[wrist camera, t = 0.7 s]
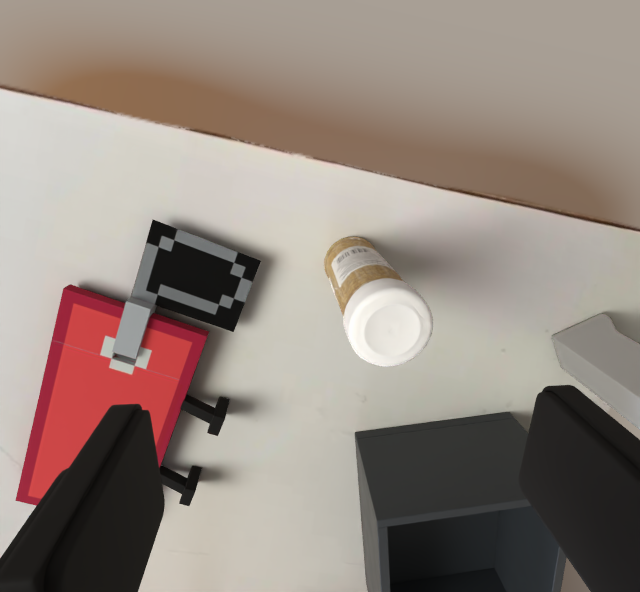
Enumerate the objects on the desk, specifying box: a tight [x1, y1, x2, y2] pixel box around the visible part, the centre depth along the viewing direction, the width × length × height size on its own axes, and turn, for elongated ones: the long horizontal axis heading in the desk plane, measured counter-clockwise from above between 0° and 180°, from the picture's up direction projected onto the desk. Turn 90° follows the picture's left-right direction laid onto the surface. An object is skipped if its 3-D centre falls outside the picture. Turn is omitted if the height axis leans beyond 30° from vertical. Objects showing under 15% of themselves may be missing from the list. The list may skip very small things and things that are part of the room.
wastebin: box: [355, 412, 566, 592], centre depth 39 cm, size 22×16×10 cm
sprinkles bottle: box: [324, 237, 433, 366], centre depth 27 cm, size 5×5×13 cm
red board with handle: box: [16, 220, 261, 506], centre depth 34 cm, size 30×3×15 cm
